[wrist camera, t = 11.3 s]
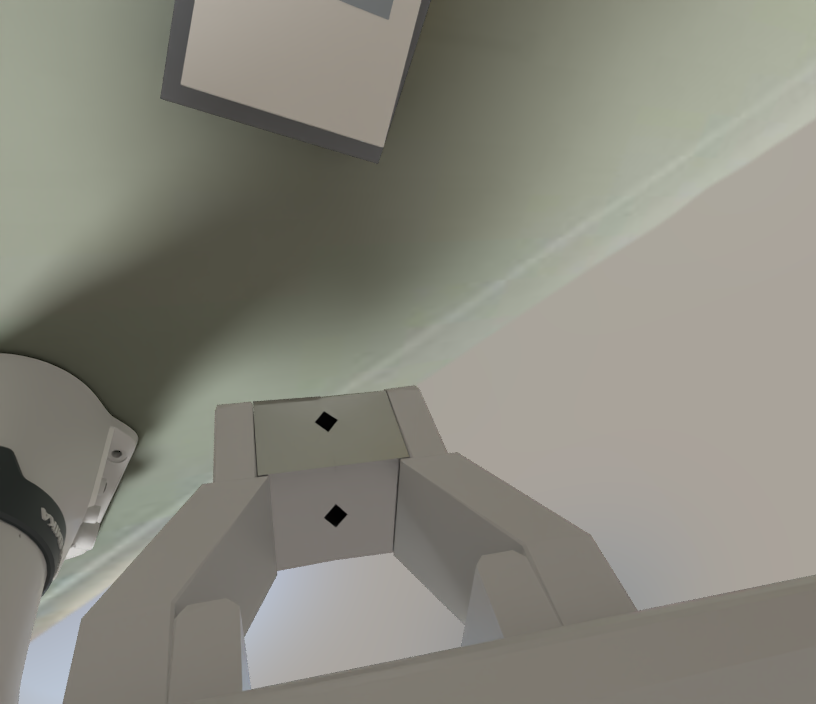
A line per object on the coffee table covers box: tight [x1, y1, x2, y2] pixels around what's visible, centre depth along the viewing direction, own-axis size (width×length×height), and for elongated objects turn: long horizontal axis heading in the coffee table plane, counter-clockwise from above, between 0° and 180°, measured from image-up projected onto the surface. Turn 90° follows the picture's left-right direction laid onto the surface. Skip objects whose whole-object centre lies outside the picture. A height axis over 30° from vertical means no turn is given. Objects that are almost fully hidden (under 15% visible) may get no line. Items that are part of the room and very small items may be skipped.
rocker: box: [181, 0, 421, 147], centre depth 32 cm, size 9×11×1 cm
